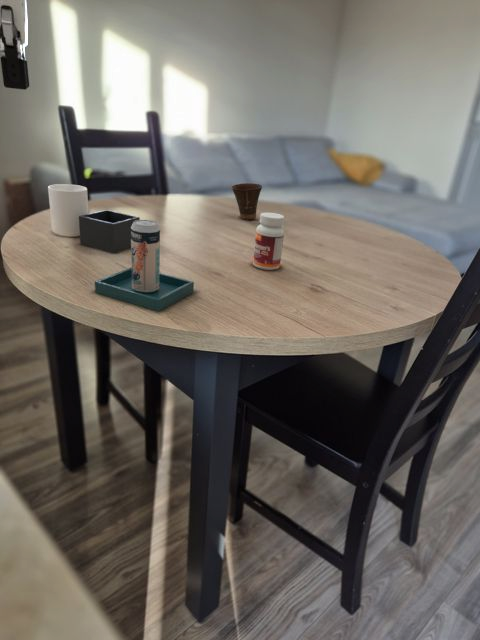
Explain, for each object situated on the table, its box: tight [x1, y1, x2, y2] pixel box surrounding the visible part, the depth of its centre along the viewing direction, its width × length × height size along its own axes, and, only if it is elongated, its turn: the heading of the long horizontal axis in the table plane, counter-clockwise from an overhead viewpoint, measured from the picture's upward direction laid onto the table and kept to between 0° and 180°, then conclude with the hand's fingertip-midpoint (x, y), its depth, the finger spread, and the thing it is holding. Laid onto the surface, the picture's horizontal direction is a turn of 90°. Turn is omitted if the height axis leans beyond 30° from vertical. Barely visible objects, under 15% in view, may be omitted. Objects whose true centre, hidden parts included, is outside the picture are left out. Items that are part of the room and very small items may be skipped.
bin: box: [79, 209, 141, 254], centre depth 108 cm, size 9×9×6 cm
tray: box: [94, 267, 195, 312], centre depth 86 cm, size 13×11×2 cm
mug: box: [47, 183, 90, 238], centre depth 113 cm, size 12×8×10 cm
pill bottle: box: [252, 212, 285, 271], centre depth 105 cm, size 6×6×11 cm
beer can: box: [130, 219, 161, 293], centre depth 84 cm, size 5×5×12 cm
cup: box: [231, 182, 263, 221], centre depth 144 cm, size 9×9×10 cm
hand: (17, 87), depth 78 cm, fingers open, 9 cm apart
